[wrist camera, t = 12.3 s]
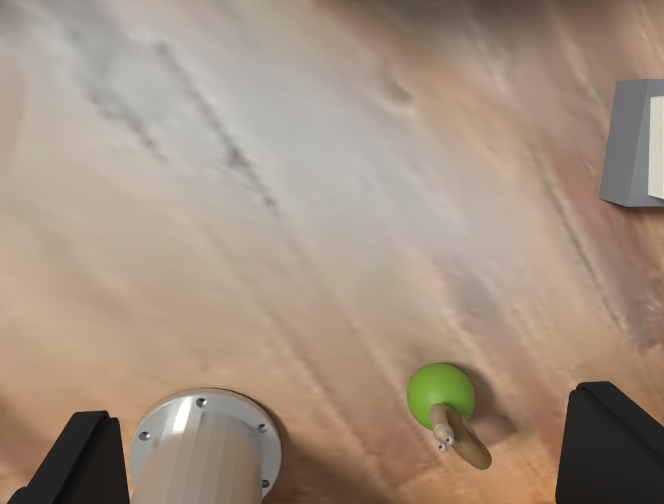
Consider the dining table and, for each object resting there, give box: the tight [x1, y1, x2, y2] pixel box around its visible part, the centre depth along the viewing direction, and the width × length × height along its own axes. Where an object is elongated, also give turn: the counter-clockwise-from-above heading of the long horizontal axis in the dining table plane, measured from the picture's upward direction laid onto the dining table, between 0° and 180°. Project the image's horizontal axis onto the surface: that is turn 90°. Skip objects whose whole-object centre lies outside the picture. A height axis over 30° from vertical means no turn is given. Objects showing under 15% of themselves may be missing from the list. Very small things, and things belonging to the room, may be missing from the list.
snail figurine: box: [407, 363, 492, 470], centre depth 40 cm, size 5×6×12 cm
